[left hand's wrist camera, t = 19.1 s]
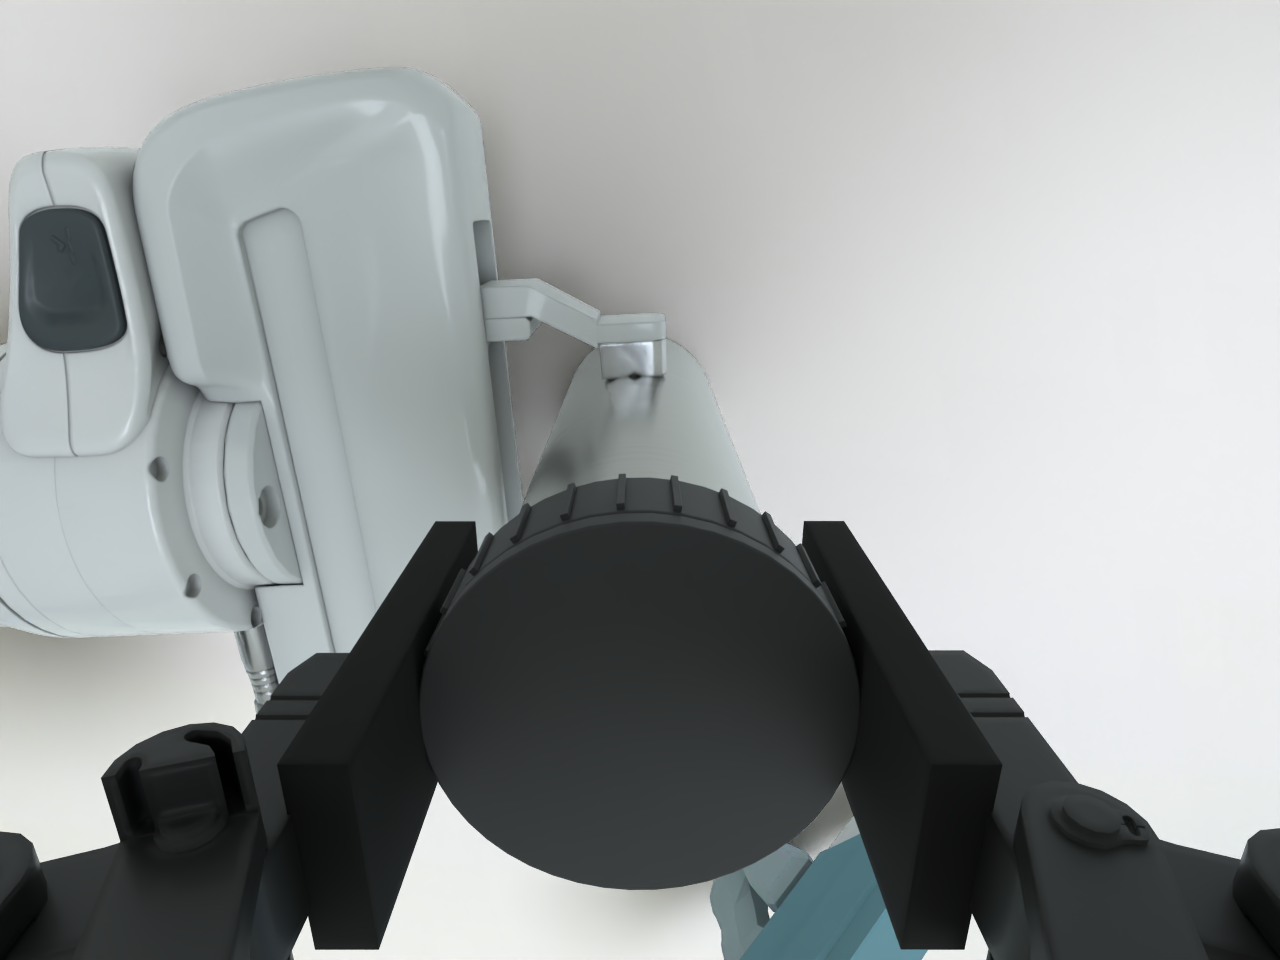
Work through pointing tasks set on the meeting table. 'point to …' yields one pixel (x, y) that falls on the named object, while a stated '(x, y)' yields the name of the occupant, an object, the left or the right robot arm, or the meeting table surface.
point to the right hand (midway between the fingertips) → (670, 457)
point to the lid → (639, 686)
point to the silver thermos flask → (640, 431)
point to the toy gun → (807, 907)
